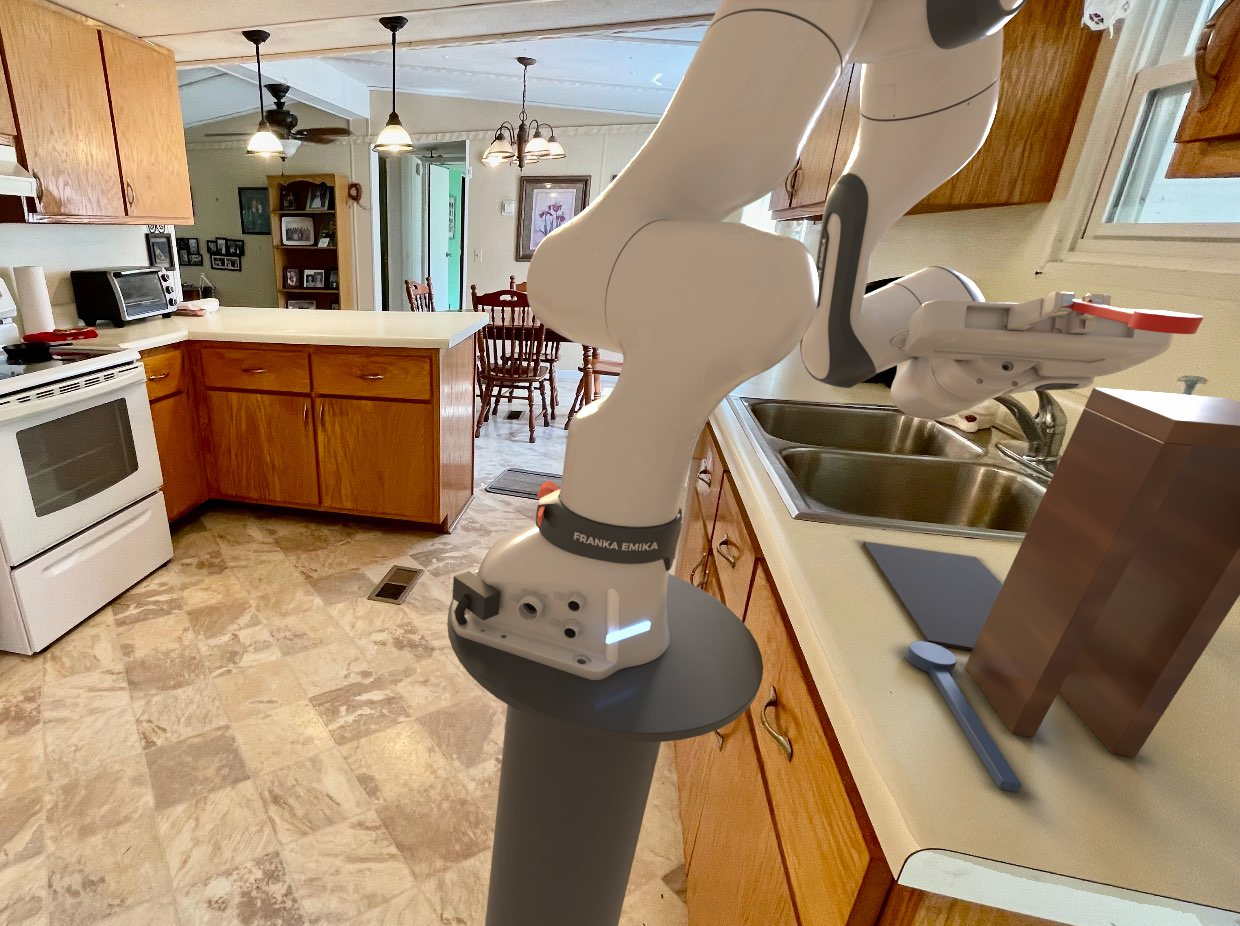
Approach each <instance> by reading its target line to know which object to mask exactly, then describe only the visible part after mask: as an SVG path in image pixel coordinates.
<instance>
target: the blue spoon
mask: <svg viewBox="0 0 1240 926" xmlns="http://www.w3.org/2000/svg"><path fill="white" fill-rule="evenodd" d="M905 658H906V660H907V661H908V662H909V663H910V664H911V665H912V666H914V667H915V668H917V669H919V670H921V671H923V672H925V673H928V674H929V677H930V679H932V681H933V683H934V685H935V686H936V688H937V689H938V691H939V693H940V694H941V696H942V698H943V700H944V701H945V703H946V704H947V706H948V707H949V709H950V711H951V713H952V714H953V716H954V717H955V719H956V720H957V722H958V724H959V725H960V727H961V729H962V731H963V732H964V734H965V735H966V737H967V739H968V740H969V742H970V744H971V746H972V747H973V748H974V751H975V752H976V753H977V755H978V757H979V758H980V760H981V762H982V764H983V765H984V766H985V768H986V769H987V771H988V773H989V774H990V776H991V778H992V780H993V781H994V783H995V785H996V786H997V788H998V789H1001V790H1003V791H1004V790H1005V791H1009V792H1013V793H1019V792H1020V790H1021V788H1022V786H1023V784H1022V783H1021V781H1020V780H1019V778H1018V776H1017V775H1016V773H1015V772H1014V770H1013V769H1012V767H1011V766H1010V764H1009V763H1008V762H1007V760H1006V758H1005V756H1004V755H1003V753H1002V752H1001V750H1000V749H999V747H998V745H997V744H996V743H995V741H994V740H993V738H992V736H991V735H990V734H989V732H988V731H987V729H986V728H985V726H984V724H983V723H982V721H981V719H980V718H979V717H978V715H977V714H976V712H975V711H974V709H973V708H972V706H971V704H970V703H969V702H968V700H967V698H966V697H965V695H964V694H963V692H962V691H961V689H960V688H959V686H958V684H957V683H956V681H955V680H954V678H953V677H952V675H951V674H952V673H953V672H954V670H955V667H956V665H957V662H958V660H957V659H958V658H957V657H956V656H955V654H954V653H953V652H952V651H950V650H949V649H947V648H946V647H944V646H939V645H936V644H933V643H930V642H926V641H925V640H924V641H923V640H915V641H912V642H911V643H909V645H908V648H907V650H906V651H905Z"/></svg>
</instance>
